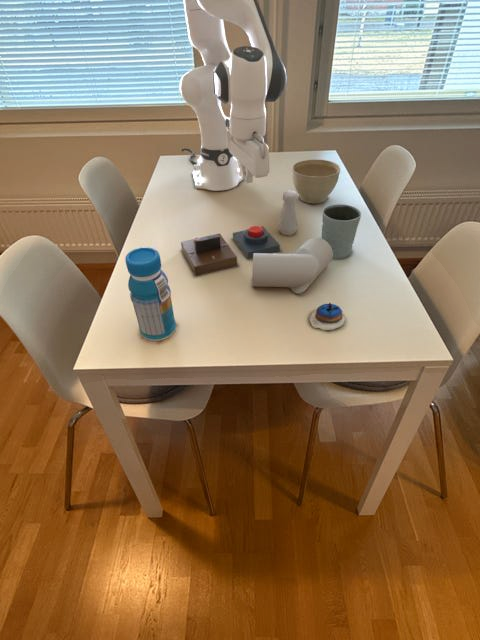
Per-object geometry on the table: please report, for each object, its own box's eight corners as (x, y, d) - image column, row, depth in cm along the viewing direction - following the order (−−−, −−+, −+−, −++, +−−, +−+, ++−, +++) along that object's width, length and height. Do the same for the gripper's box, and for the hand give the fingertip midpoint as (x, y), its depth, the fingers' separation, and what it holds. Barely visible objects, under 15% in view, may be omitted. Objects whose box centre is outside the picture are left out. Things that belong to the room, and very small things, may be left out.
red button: (246, 232, 117) (246, 227, 116) (259, 229, 118) (259, 224, 117) (252, 239, 114) (252, 233, 113) (264, 236, 115) (264, 230, 114)
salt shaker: (296, 237, 121) (299, 197, 112) (277, 236, 122) (278, 195, 113) (297, 228, 125) (301, 188, 117) (279, 227, 126) (281, 187, 118)
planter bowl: (336, 189, 146) (340, 159, 139) (336, 209, 134) (340, 177, 127) (292, 187, 148) (293, 157, 141) (288, 207, 136) (290, 175, 129)
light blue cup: (314, 256, 113) (319, 217, 105) (321, 239, 120) (326, 201, 112) (351, 262, 110) (358, 223, 102) (356, 244, 117) (363, 206, 109)
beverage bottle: (144, 347, 88) (124, 271, 74) (136, 323, 94) (116, 250, 80) (181, 335, 90) (168, 260, 77) (171, 313, 96) (157, 240, 83)
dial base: (181, 250, 117) (180, 241, 115) (220, 242, 120) (219, 232, 118) (195, 276, 107) (194, 266, 105) (237, 266, 111) (236, 256, 108)
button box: (232, 239, 121) (232, 227, 119) (262, 232, 124) (263, 220, 121) (247, 259, 113) (247, 246, 110) (279, 251, 116) (280, 239, 113)
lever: (218, 244, 113) (217, 232, 111) (220, 247, 112) (219, 235, 110) (195, 250, 112) (193, 238, 109) (196, 253, 110) (195, 241, 108)
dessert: (341, 305, 95) (345, 299, 90) (344, 332, 94) (348, 327, 88) (307, 307, 96) (309, 301, 90) (309, 334, 95) (311, 329, 89)
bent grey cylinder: (304, 308, 94) (339, 267, 106) (298, 269, 88) (336, 230, 100) (243, 297, 104) (281, 261, 116) (234, 261, 98) (276, 227, 111)
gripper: (277, 138, 93) (274, 194, 102) (244, 114, 107) (244, 165, 116) (252, 141, 91) (251, 198, 100) (222, 116, 105) (224, 169, 114)
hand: (247, 180), depth 108 cm, fingers closed
